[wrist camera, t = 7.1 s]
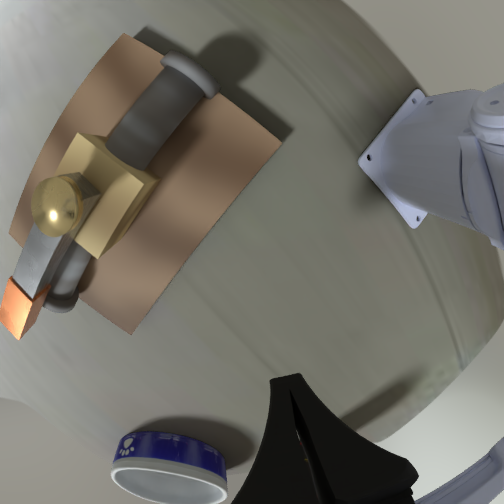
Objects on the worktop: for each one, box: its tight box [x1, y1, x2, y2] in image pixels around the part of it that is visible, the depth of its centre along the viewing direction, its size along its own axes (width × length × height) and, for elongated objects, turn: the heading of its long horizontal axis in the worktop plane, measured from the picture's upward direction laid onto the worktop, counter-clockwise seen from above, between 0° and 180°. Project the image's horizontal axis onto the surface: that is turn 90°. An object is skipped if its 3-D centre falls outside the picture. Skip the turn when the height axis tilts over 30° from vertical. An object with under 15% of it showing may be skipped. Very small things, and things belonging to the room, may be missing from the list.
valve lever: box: [0, 172, 102, 340], centre depth 11 cm, size 11×3×3 cm, turn 136°
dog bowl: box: [111, 431, 228, 504], centre depth 26 cm, size 15×15×6 cm
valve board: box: [9, 33, 282, 335], centre depth 15 cm, size 18×14×6 cm
